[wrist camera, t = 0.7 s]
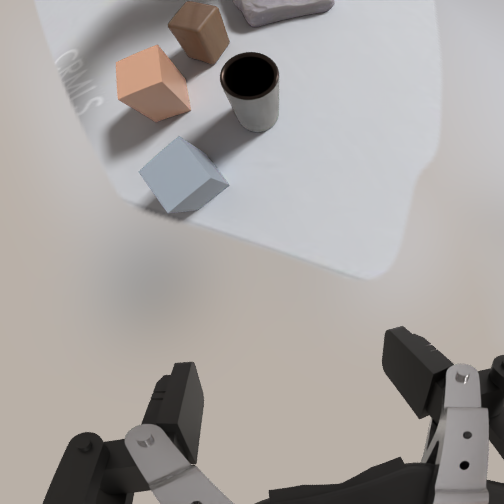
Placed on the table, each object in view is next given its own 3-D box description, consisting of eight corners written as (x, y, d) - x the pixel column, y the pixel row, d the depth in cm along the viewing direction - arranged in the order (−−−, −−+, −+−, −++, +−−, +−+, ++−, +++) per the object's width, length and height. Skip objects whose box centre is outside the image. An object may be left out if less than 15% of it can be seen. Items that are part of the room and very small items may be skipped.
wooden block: (187, 57, 28) (165, 25, 20) (203, 34, 27) (186, -1, 19) (214, 66, 28) (197, 32, 20) (231, 42, 27) (219, 5, 19)
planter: (283, 126, 28) (286, 91, 18) (243, 137, 29) (227, 107, 19) (272, 91, 28) (269, 45, 18) (233, 101, 28) (213, 60, 18)
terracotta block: (151, 91, 29) (115, 62, 20) (185, 79, 28) (157, 44, 19) (155, 122, 29) (117, 99, 21) (191, 110, 29) (162, 81, 20)
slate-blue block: (174, 179, 30) (138, 171, 22) (205, 153, 30) (178, 135, 21) (197, 210, 31) (167, 213, 22) (229, 185, 30) (210, 177, 21)
